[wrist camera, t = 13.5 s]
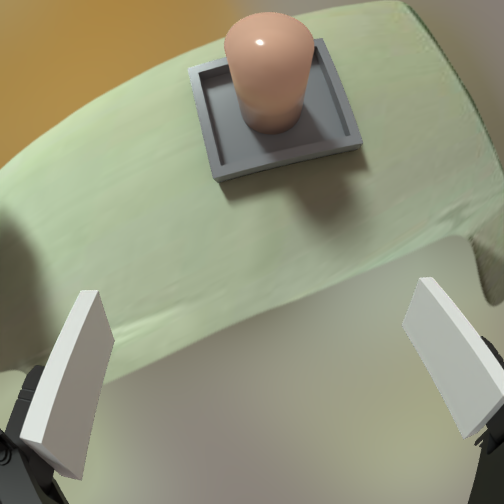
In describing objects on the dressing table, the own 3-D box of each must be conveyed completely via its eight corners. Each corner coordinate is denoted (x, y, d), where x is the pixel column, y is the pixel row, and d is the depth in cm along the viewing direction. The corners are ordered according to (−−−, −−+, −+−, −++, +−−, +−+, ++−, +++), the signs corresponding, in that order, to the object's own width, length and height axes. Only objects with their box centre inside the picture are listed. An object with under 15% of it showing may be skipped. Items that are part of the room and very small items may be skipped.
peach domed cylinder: (228, 117, 31) (206, 57, 19) (259, 72, 31) (253, 2, 19) (282, 145, 31) (287, 92, 19) (312, 98, 31) (328, 33, 19)
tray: (217, 182, 32) (213, 178, 30) (193, 78, 32) (187, 68, 30) (357, 149, 31) (363, 142, 29) (319, 49, 31) (322, 38, 28)
